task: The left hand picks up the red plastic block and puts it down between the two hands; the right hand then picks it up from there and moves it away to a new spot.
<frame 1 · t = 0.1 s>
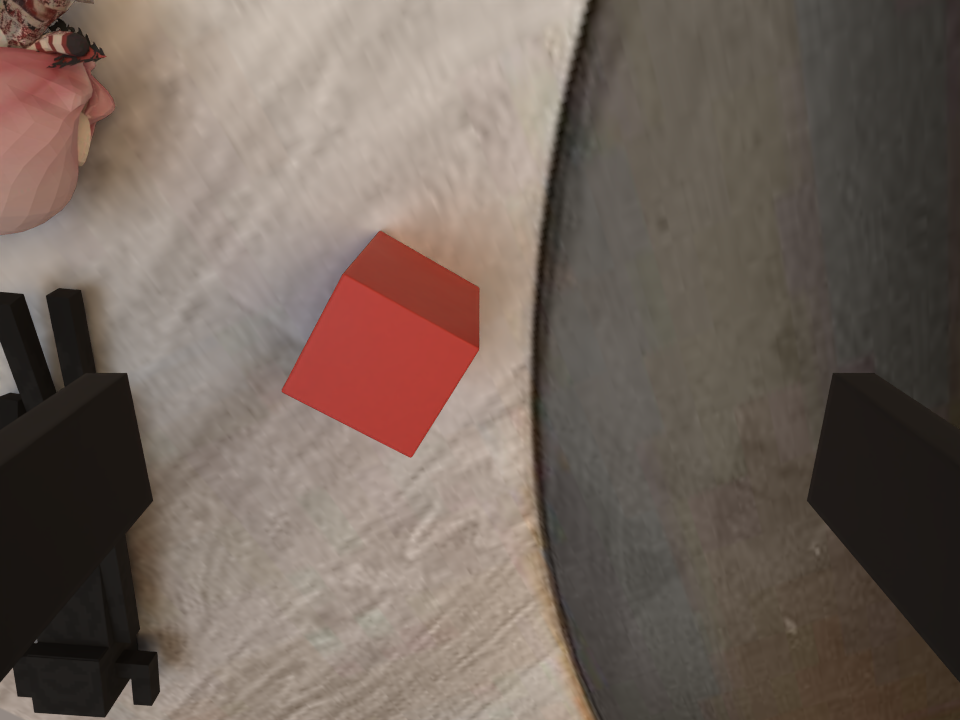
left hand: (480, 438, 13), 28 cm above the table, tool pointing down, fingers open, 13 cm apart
toy: (88, 495, 45), on the table
block: (404, 304, 40), on the table
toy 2: (32, 86, 36), on the table
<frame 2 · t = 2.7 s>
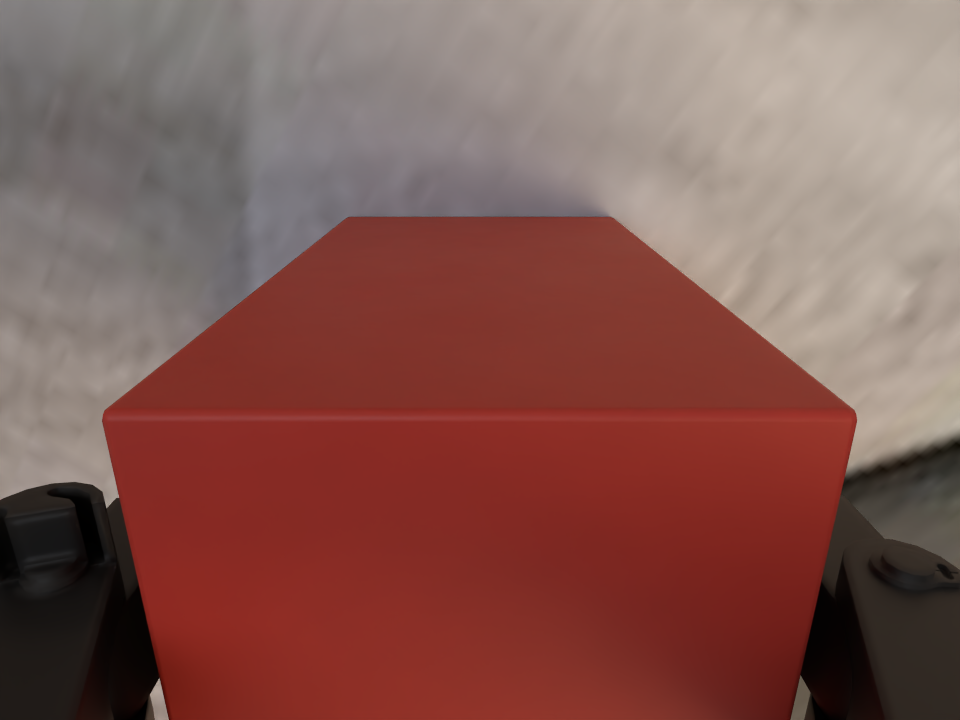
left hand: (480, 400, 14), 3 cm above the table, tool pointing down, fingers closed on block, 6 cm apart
block: (479, 349, 17), on the table, touching left hand
when the left hand's fingers open (4 cm above the table, at t = 11.2 s): block drops 1 cm, on the table.
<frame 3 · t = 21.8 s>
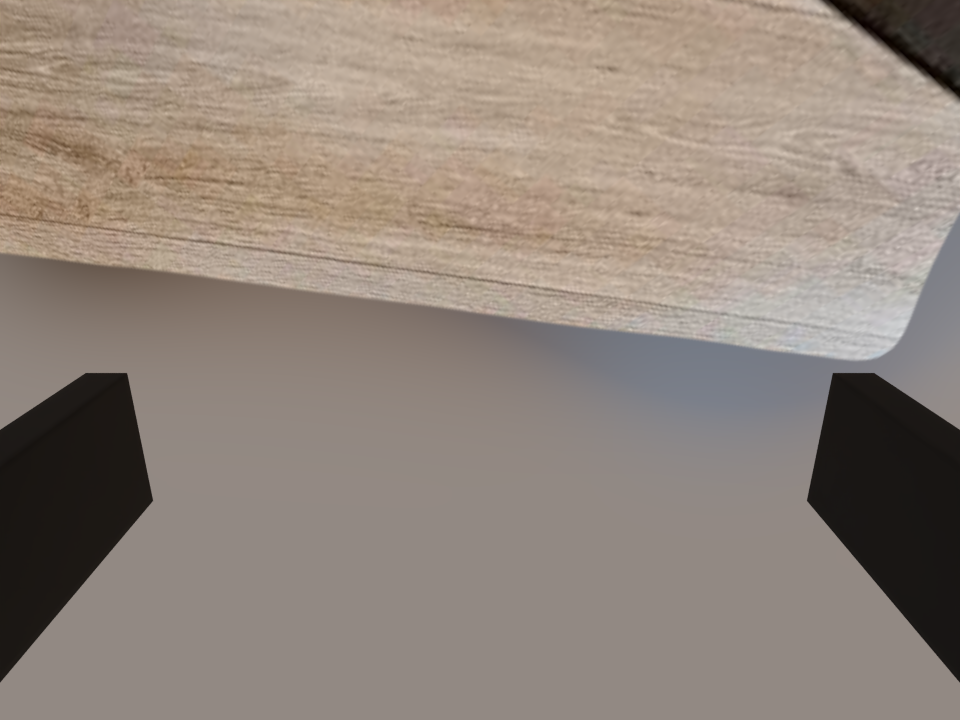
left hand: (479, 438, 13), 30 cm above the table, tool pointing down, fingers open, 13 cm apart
when the right hand's fingers open (4 cm above the table, at t = 26.7 s): block drops 1 cm, on the table.
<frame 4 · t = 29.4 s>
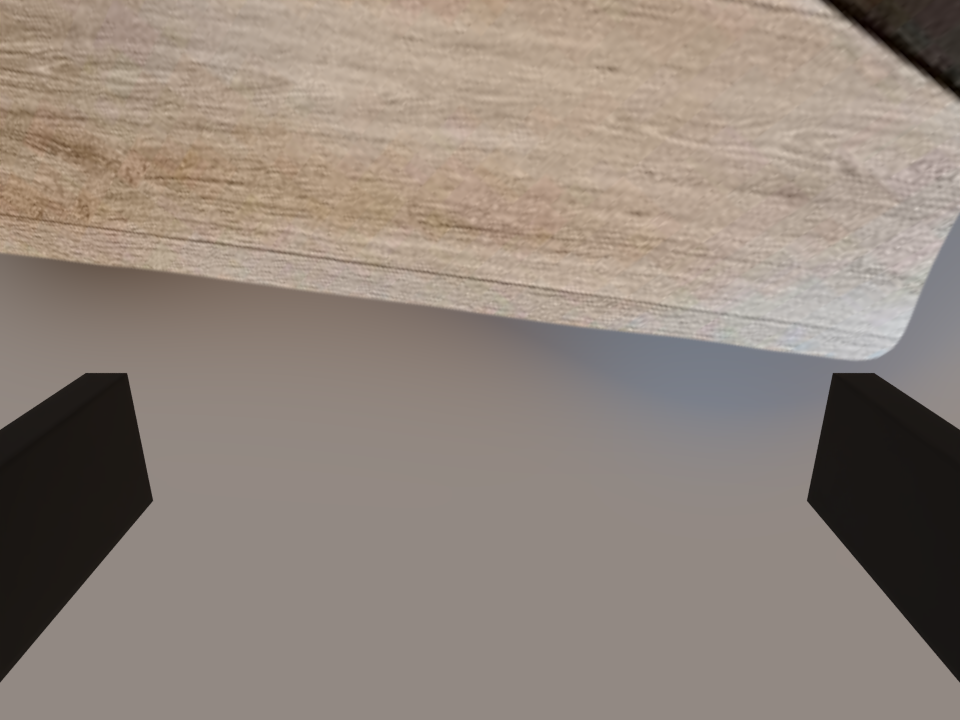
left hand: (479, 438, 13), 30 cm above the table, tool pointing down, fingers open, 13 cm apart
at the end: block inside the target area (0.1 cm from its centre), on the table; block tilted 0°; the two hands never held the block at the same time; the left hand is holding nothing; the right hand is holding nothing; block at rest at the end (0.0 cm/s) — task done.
